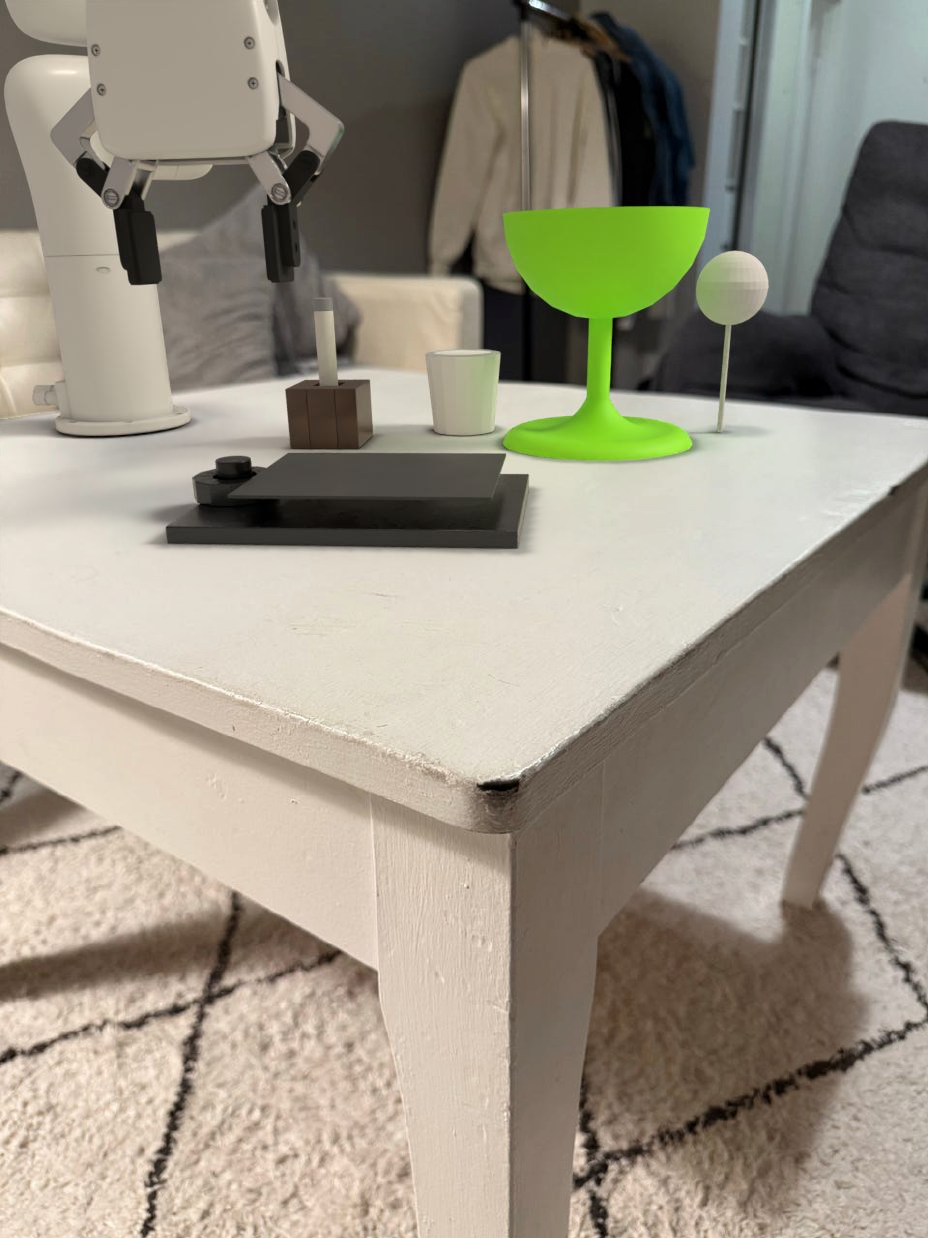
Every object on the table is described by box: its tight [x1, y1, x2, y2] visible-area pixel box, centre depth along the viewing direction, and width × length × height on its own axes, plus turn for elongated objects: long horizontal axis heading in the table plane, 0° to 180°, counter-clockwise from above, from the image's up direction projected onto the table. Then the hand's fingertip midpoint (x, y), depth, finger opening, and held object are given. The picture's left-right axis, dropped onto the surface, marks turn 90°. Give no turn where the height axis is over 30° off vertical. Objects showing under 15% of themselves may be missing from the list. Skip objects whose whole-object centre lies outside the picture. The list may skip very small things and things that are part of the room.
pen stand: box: [284, 379, 374, 450], centre depth 80 cm, size 6×6×5 cm
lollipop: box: [695, 250, 769, 433], centre depth 79 cm, size 6×6×15 cm
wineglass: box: [502, 205, 711, 462], centre depth 75 cm, size 16×16×18 cm
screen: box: [227, 452, 507, 501], centre depth 56 cm, size 15×12×1 cm
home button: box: [214, 455, 253, 480], centre depth 57 cm, size 2×2×1 cm
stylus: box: [312, 297, 339, 386], centre depth 78 cm, size 2×2×12 cm
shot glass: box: [424, 348, 502, 436], centre depth 84 cm, size 7×7×7 cm
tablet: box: [165, 465, 530, 550], centre depth 57 cm, size 21×14×2 cm
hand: (213, 281), depth 53 cm, fingers open, 7 cm apart
